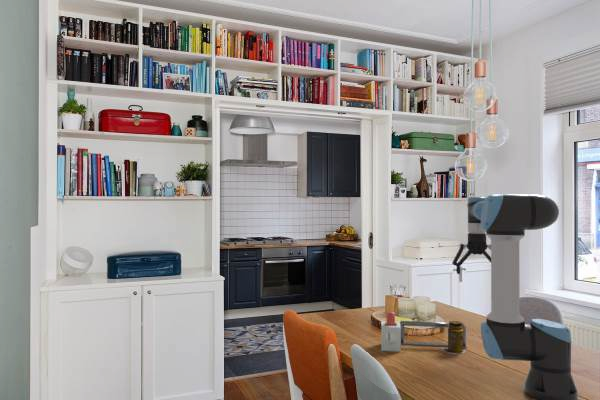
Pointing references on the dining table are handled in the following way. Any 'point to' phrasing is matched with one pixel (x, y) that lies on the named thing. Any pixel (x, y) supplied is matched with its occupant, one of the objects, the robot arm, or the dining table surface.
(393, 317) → the plunger
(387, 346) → the cabinet
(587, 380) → the dining table surface
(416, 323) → the handrail
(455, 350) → the condiment
